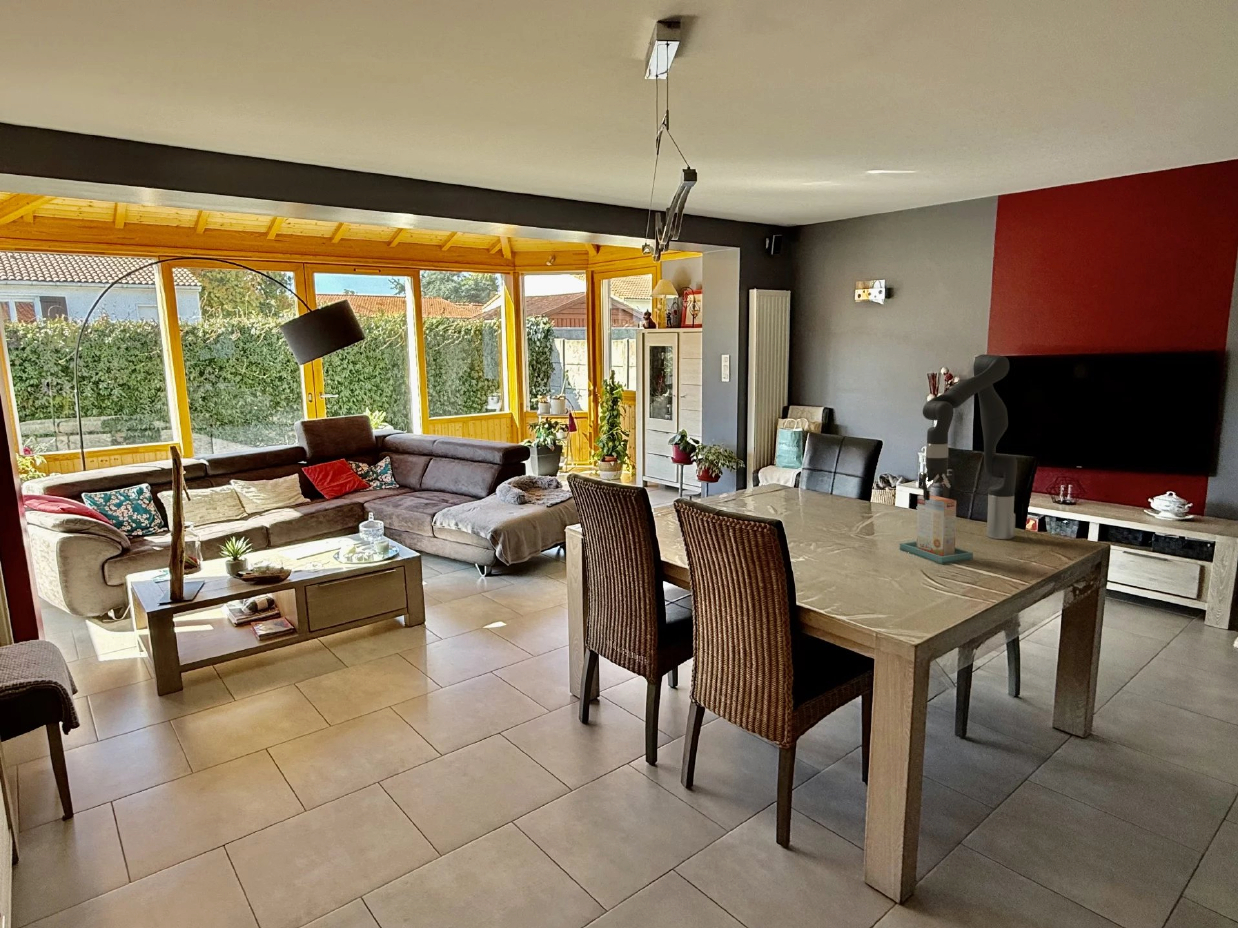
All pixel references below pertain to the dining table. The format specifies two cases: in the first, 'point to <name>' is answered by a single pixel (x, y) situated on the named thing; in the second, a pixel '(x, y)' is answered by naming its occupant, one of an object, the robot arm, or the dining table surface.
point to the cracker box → (936, 525)
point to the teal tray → (912, 549)
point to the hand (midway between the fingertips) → (936, 498)
